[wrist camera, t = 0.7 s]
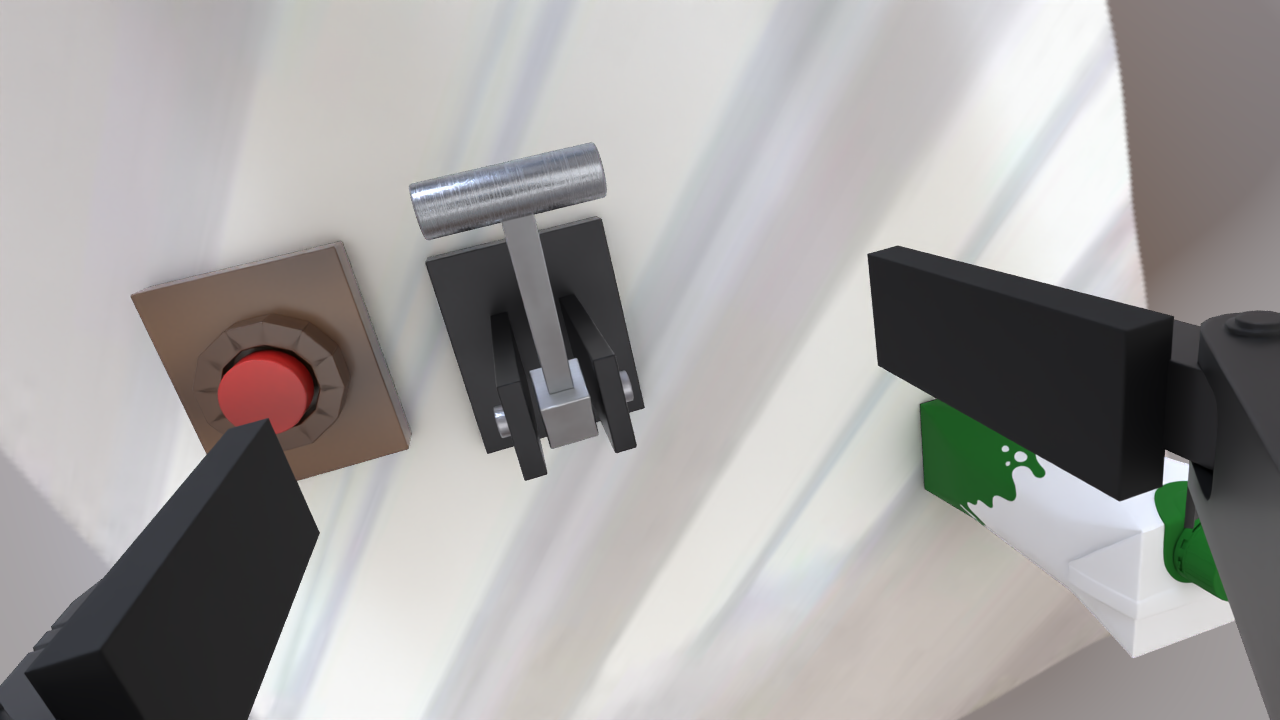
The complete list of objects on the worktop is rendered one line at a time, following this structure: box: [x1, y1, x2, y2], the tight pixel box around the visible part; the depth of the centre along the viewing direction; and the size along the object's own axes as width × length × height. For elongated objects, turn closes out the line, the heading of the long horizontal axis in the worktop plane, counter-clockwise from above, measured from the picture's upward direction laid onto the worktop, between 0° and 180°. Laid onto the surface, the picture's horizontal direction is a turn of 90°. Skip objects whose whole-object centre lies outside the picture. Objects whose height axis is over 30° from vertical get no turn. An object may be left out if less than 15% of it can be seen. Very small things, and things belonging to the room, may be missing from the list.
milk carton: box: [920, 399, 1235, 658], centre depth 42 cm, size 9×9×20 cm
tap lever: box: [409, 142, 607, 449], centre depth 26 cm, size 13×6×2 cm, turn 13°
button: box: [218, 350, 314, 434], centre depth 35 cm, size 4×4×2 cm
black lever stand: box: [426, 216, 645, 481], centre depth 35 cm, size 12×10×14 cm
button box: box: [131, 241, 412, 481], centre depth 37 cm, size 12×10×4 cm
